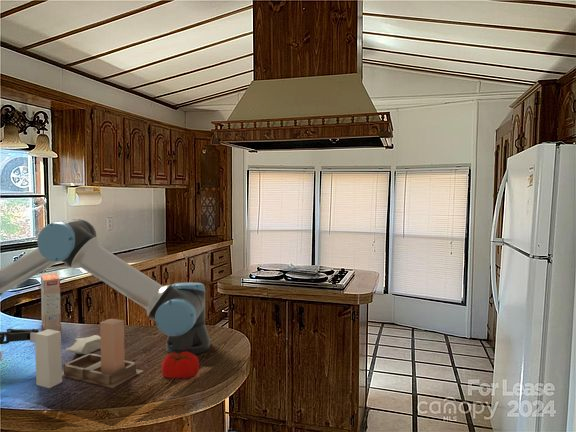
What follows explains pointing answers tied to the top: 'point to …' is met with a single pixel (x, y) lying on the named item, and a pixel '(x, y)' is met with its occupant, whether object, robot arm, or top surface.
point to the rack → (98, 371)
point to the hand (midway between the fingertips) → (24, 347)
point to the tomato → (180, 365)
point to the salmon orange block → (112, 345)
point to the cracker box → (50, 302)
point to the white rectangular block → (48, 358)
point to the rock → (85, 345)
